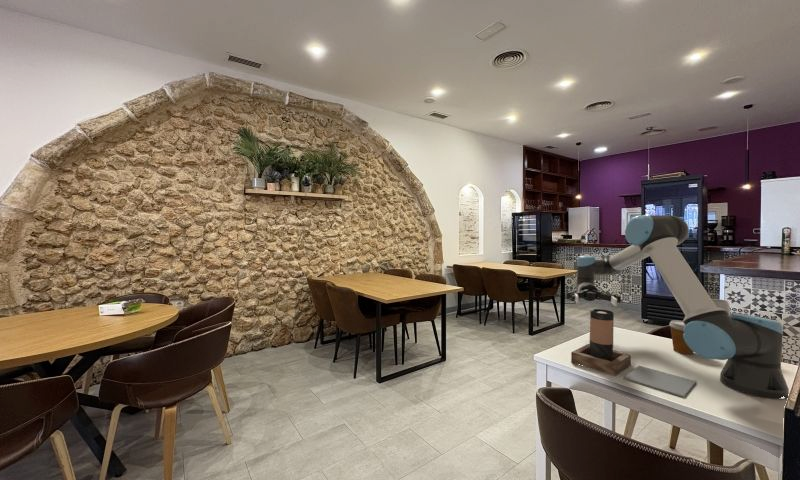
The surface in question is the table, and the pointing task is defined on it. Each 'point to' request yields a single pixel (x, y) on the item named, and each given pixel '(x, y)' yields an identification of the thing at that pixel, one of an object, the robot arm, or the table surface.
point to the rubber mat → (660, 381)
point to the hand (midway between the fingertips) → (596, 301)
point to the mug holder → (601, 361)
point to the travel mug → (601, 334)
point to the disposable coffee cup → (679, 337)
